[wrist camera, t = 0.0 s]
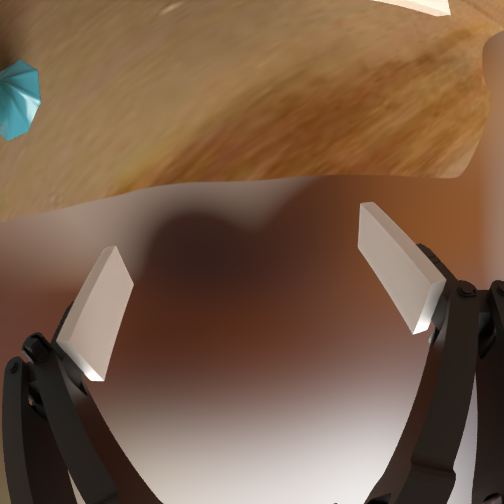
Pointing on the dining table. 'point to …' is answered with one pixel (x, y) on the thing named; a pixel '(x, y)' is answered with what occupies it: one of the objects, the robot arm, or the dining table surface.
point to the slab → (423, 6)
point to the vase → (18, 99)
